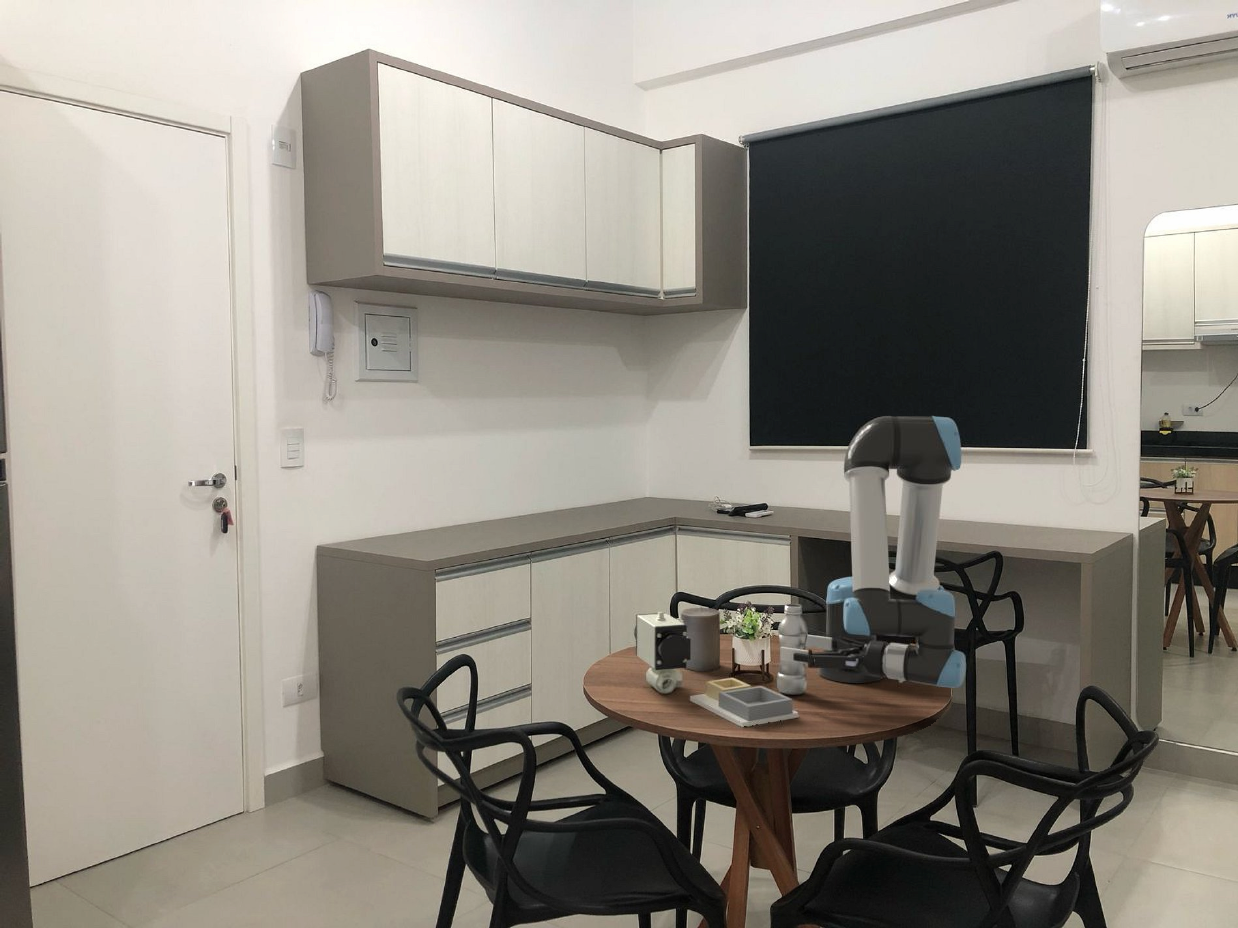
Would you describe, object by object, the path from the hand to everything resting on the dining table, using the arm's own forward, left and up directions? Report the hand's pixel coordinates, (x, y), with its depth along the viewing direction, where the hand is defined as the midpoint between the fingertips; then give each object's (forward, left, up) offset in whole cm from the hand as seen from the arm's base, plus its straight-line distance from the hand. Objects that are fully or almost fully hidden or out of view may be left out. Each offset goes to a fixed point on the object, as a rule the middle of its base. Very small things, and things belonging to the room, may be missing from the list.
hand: (792, 646), depth 219 cm
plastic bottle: (-1, -1, -11) cm, 11 cm away
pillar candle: (+5, -30, -11) cm, 32 cm away
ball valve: (+23, -17, -11) cm, 31 cm away
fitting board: (+15, +3, -11) cm, 19 cm away
